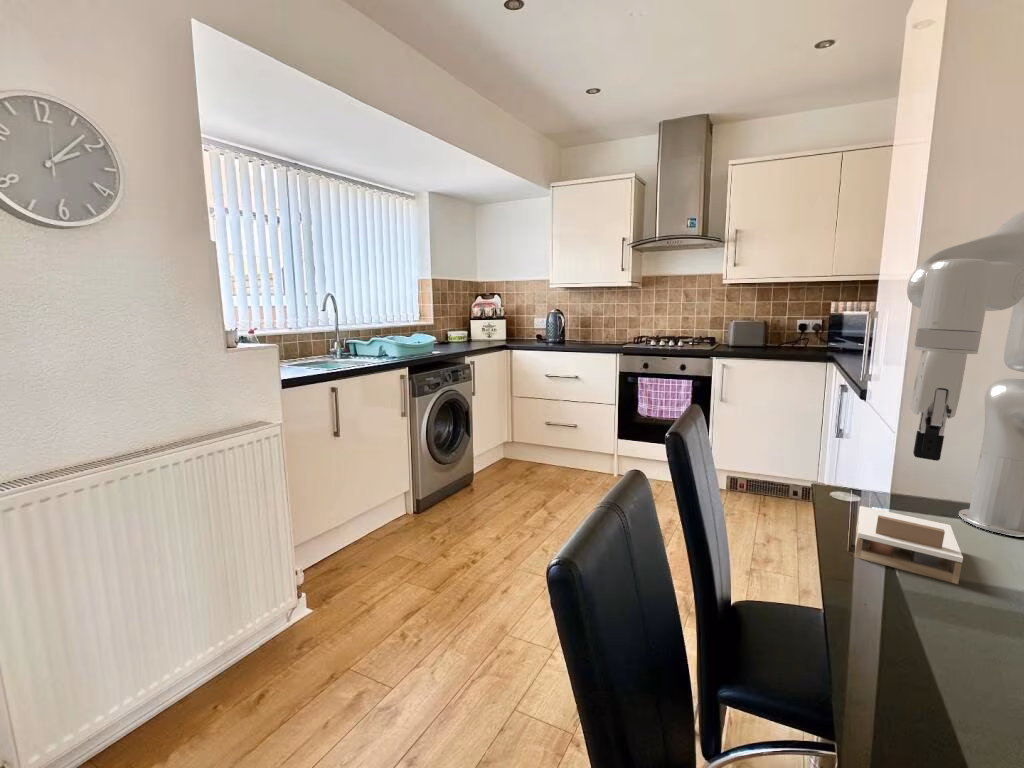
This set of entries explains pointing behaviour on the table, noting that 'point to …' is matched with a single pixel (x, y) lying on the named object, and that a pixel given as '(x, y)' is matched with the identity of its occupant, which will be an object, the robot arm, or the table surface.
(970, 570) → the table surface
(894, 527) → the sliding lid
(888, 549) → the glossy peach egg
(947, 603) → the table surface
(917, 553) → the charcoal block
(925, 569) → the oak box
